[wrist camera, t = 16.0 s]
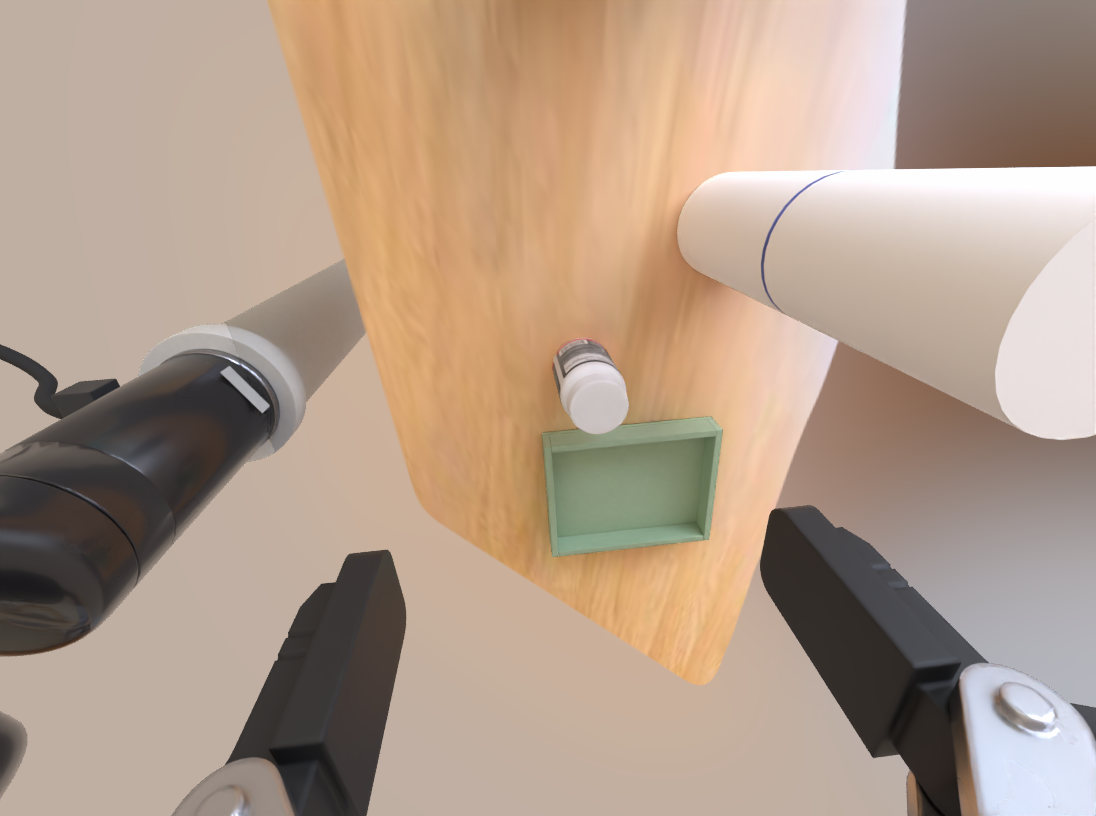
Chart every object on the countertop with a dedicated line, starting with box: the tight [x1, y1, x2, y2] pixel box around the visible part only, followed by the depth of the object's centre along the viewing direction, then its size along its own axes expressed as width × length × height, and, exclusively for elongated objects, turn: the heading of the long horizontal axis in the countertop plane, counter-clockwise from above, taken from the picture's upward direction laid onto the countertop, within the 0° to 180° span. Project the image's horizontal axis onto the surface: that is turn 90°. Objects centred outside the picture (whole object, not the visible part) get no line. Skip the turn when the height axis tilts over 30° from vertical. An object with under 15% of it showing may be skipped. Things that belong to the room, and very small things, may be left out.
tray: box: [542, 416, 723, 557], centre depth 43 cm, size 15×12×2 cm
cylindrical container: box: [677, 167, 1096, 440], centre depth 23 cm, size 7×7×25 cm
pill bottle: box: [553, 338, 629, 434], centre depth 34 cm, size 5×5×8 cm
